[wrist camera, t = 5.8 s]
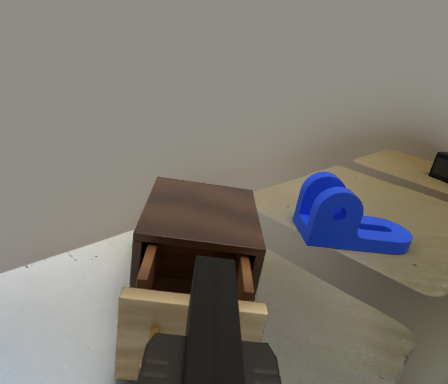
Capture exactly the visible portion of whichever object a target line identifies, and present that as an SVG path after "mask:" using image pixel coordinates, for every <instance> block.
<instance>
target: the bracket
mask: <svg viewBox="0 0 448 384" xmlns="http://www.w3.org/2000/svg"><path fill="white" fill-rule="evenodd" d="M293 220H294V222H295V224H296V226H297V228H298V230H299V232H300V233H301V235H302V237H303V239H304V241H305V243H306V244H307V246H317V247H326V248H337V249H347V250H357V251H367V252H377V253H387V254H404V253H406V252H407V251H408V248H409V246H410V243H411V241H412V238H413V237H412V235H411V233H410V232H409V231H407V230H406V229H405V228H403V227H402V226H400V225H398V224H396V223H394V222H391V221H388V220H385V219H381V218H377V217H369V216H363V205H362V202H361V201H360V199H359V198H358V197H357V196H356V195H355V194H354V193H353V192H352V191H350V190H349V189H347V188H346V187H345V185H344V184H343V183H342V181H341V180H340V179H339V178H338V177H336V176H335V175H334V174H332V173H329V172H318V173H315V174H313V175H311V176H310V177H309V178H307V179H306V180H305V182H304V183H303V185H302V187H301V190H300V194H299V198H298V202H297V206H296V209H295V213H294V217H293Z"/></svg>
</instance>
